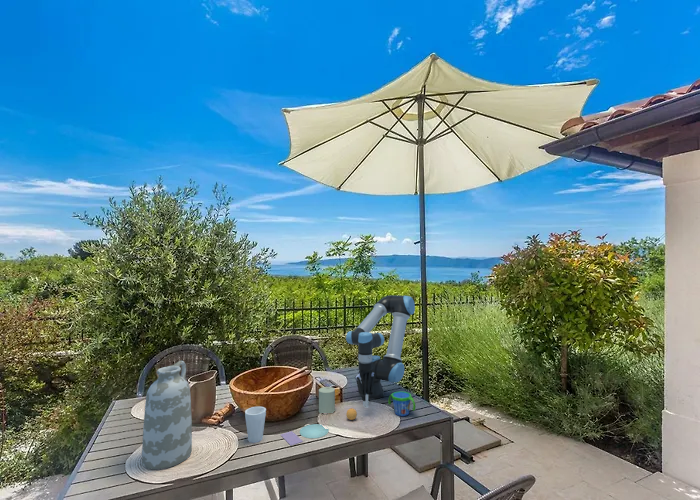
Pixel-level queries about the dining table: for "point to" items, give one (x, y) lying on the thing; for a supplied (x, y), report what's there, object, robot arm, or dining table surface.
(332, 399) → the can
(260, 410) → the foam cup
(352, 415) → the ball
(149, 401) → the vase
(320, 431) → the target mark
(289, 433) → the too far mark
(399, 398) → the snack cup
